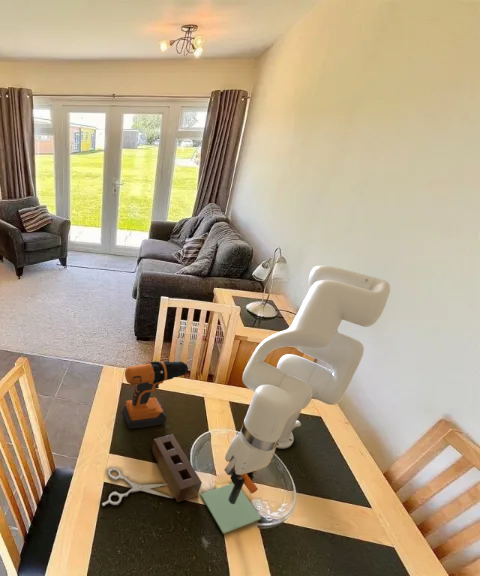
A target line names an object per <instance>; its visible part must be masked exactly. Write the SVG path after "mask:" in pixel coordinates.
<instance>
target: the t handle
mask: <svg viewBox="0 0 480 576" xmlns="http://www.w3.org/2000/svg"><path fill="white" fill-rule="evenodd" d="M230 462H231V461H228V464H229V463H230ZM243 478H244V482H243V484H242V487H241V489H237V487H236V486H235V485H234V486H233V489H232V491H231V494H230V496H229V498H228V500H229V502H230V503H231V504H235V503H236V500H237V498H238V496H239V493H240V491H241V490H242V489H243V487H244V486H245V487H246V489H247V490H248V492H249V493H250V494H255V493H256V492H257V491H258V489H259V488H258V487H257V485H256V484H255V482H254V481H253V479H252V480H251V479H250V477H249V476H248V475H247V473H246V474H245V475H244V477H243Z"/></svg>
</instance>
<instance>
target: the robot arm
mask: <svg viewBox="0 0 480 576" xmlns="http://www.w3.org/2000/svg"><path fill="white" fill-rule="evenodd" d="M307 283H308V291H307V294H306V296H305V297H304V299H303V300H302V303H301V305H300V307H299V309H298V311H297V313H296V315H295V317H294V318H293V319H292V320H293V321H292V322H291V324H290V326H289V327H288V328H287V329H283V330H281V331H278V332H275V333H273V334H271V335H269V336H267V337H266V338H265V339H263V340H262V341H261V342H260V343H259V344H258V345H257V346H256V347H255V349H254V351H253V352H252V354H251V357H250V358H249V360H248V362H247V363H246V366H245V368H244V370H243V372H242V377H241V378H242V379H241V380H242V383H243V385H244V386H245V387H246V388H248V389H250V390H251V391H252V392H254V393H253V394H252V395H253V396H252V398H251V401H250V403H249V406H248V409H247V412H246V415H245V417H244V420H243V423H242V426H241V429H240V431H239V432H238V433H237V434H236V435H235V436H234V438H233V439H232V441H231V443H230V445H229V447H228V449H227V452H226V454H225V457H224V460H225V461H226V463H228V464H227V466H226V467H225V468H224V469H223V470H224V472H225V474H226V475H227V476H230V480H231V482H232V483H233V484H234V485H235V486H236V487H237V489H241V487H242V488H243V486H242V484H243V482H244V478H243V477H244V475H245V474H246V473H247V475H248V476H249V477H250V479H251V480H252V481H253V480H254V476H256V475H257V474H258V472H259V470H261V469H264V468H266V467H268V466H269V465H270V463H271V462H272V460H273V457H274V455H275V452H276V449H288V448H290V447H291V446H292V445H293V443H294V440H295V438H294V434H293V430H295V429H296V428H299V427H301V426H302V423H301V421H300V420H298V419H299V416H300V414H301V412H302V410H304V409H306V408H307V407H308V406H309V404H310V403H311V401H312V399H315V400H317V401H319V402H322V403H324V404H327V405H331V406H335V405H338V404H339V403H340V402H341V401H342V399H343V398H344V396H345V394H346V392H347V390H348V388H349V387H350V384H351V382H352V380H353V378H354V375H355V374H356V371H357V370H358V367H359V366H360V364H361V361H362V358H363V356H364V352H365V351H364V349H365V348H364V344H363V343H362V342H361V341H360V340H359V339H357V338H355V337H352V336H349V335H347V334H344V333H341V332H339V331H338V330H339V327H340V325H341V324H342V321H346V322H348V323H351V324H354V325H357V326H361V327H365V328H367V327H372V326H374V324H376V323H377V321H378V320H379V319H380V317H381V316H382V314H383V312H384V310H385V307H386V305H387V302H388V299H389V297H390V293H391V285H390V284H389V282H388V281H387V280H384V279H382V278H379V277H376V276H371V275H368V274H365V273H360V272H356V271H353V270H350V269H345V268H342V267H338V266H337V267H336V266H332V265H323V264H322V265H321V264H320V265H316V266H314V267H313V268H312V269H311V270H310V272H309V275H308V282H307ZM282 348H295V349H296V350H297V351H299V352H300V353H302V354H304V355H306V356H308V357H311V358H313V359H315V360H317V361H319V362H322V363H325V364H327V365H329V366H331V368H332V369H330V368H328V367H326V366H324V365H321V364H318V363H317V362H314V361H313V360H310V359H307V358H305V357H303V356H300V355H297V354H294V353H293V354H292V353H287V354H284V355H282V356H281V357H280V358H279V360H278V361H277V364H276V367H275V366H274V365H271V364H270V363H268V362H265V360H266V358H267V357H268V355H270V353H272V352H273V351H274V350H275V351H276V350H278V349H282ZM229 461H231V462H230V463H229ZM243 485H244V484H243ZM241 490H242V489H241Z"/></svg>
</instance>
